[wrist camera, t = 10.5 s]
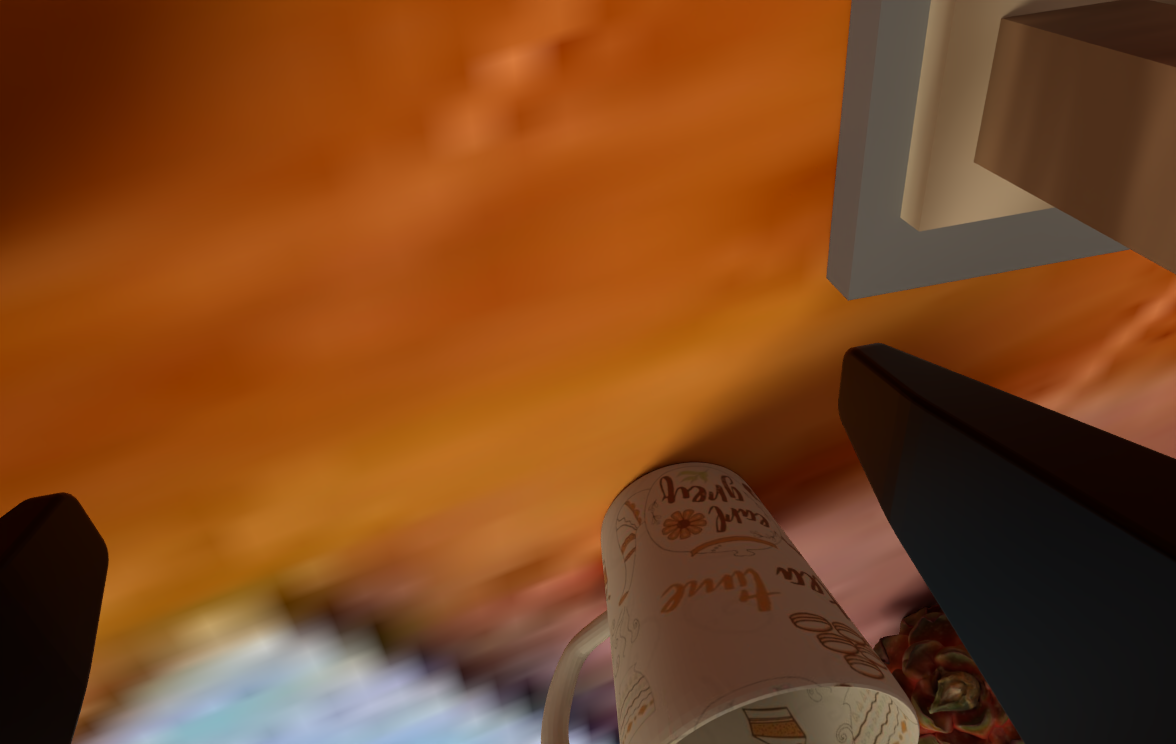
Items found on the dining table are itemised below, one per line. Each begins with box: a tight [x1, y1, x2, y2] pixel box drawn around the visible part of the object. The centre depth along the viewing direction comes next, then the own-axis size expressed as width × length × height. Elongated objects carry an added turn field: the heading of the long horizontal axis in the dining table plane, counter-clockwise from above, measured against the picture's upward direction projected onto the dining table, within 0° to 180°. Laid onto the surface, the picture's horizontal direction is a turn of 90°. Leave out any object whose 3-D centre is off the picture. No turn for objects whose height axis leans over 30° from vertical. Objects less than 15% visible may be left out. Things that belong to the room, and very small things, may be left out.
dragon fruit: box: [873, 604, 1024, 744], centre depth 34 cm, size 8×8×12 cm
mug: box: [541, 462, 920, 744], centre depth 26 cm, size 8×13×10 cm, turn 137°
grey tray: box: [827, 0, 1129, 300], centre depth 21 cm, size 17×12×3 cm
